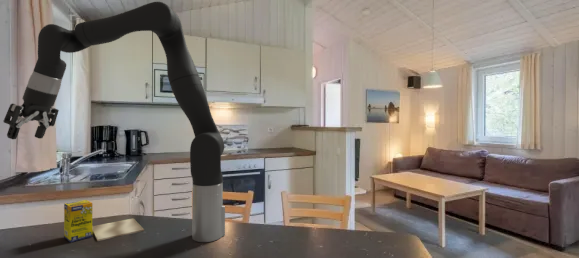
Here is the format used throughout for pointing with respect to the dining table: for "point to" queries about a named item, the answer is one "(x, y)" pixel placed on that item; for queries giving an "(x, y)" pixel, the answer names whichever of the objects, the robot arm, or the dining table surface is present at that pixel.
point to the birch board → (116, 229)
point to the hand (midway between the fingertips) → (25, 138)
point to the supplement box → (77, 220)
